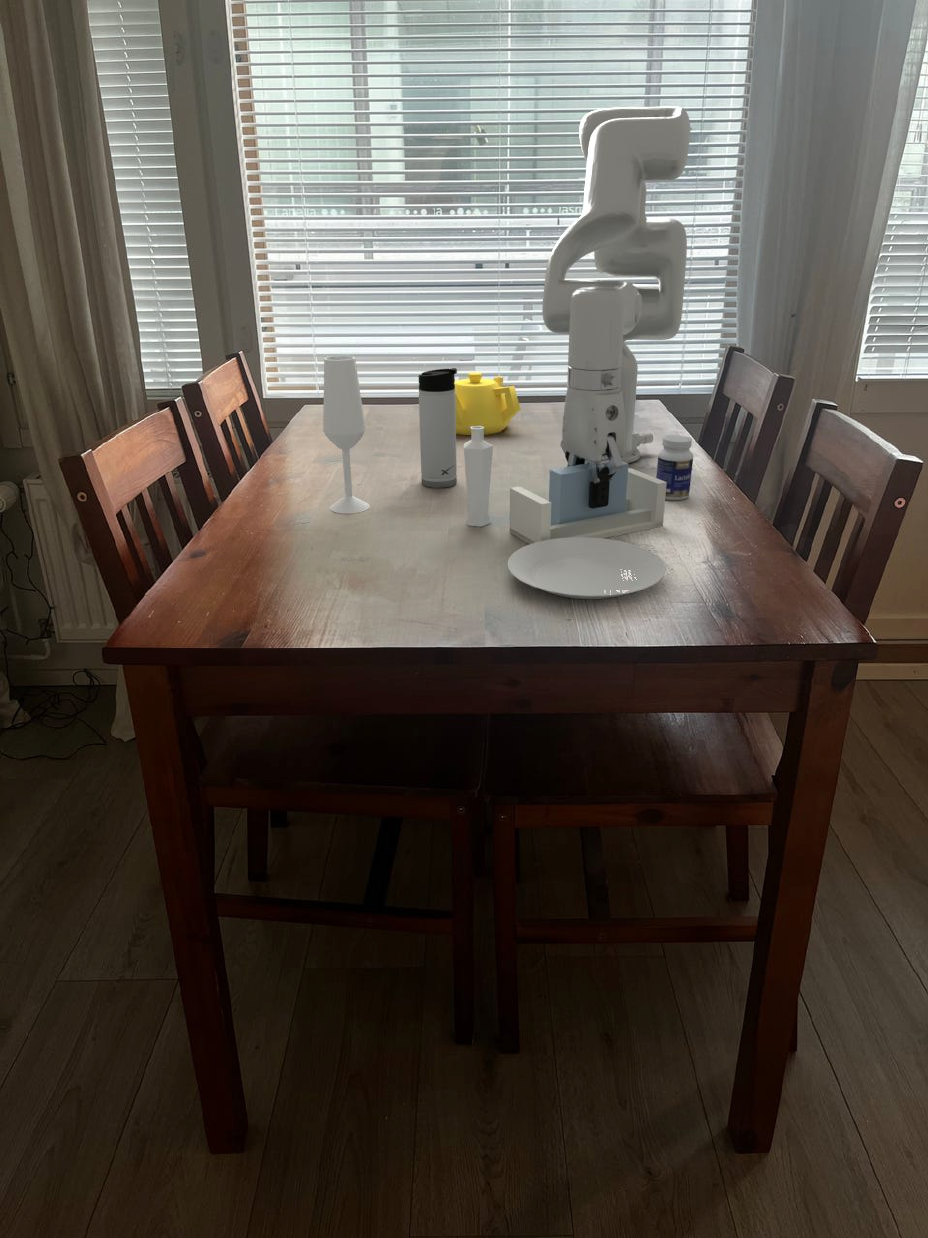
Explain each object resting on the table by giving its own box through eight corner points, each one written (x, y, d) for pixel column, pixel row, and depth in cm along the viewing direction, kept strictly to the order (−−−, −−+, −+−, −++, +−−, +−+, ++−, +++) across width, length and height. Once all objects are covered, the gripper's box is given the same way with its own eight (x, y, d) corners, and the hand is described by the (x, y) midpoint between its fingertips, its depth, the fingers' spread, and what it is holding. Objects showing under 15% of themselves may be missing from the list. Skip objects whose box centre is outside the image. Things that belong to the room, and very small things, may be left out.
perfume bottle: (496, 519, 144) (496, 424, 138) (487, 528, 140) (487, 431, 134) (468, 516, 145) (467, 422, 139) (459, 525, 142) (458, 429, 135)
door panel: (613, 515, 143) (616, 458, 139) (624, 520, 140) (628, 463, 136) (548, 527, 138) (549, 469, 134) (558, 533, 135) (560, 474, 132)
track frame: (627, 510, 147) (630, 467, 144) (662, 526, 140) (666, 482, 137) (509, 532, 138) (510, 487, 135) (540, 550, 131) (541, 504, 128)
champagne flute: (321, 510, 149) (309, 360, 139) (341, 499, 154) (331, 353, 144) (358, 515, 146) (348, 362, 136) (376, 503, 152) (369, 355, 142)
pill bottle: (677, 503, 150) (683, 444, 146) (648, 496, 154) (652, 438, 150) (695, 495, 154) (701, 437, 150) (666, 489, 158) (671, 432, 153)
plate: (554, 624, 110) (555, 607, 109) (482, 565, 127) (482, 550, 126) (697, 594, 117) (698, 578, 116) (610, 543, 134) (611, 528, 133)
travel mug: (454, 489, 159) (452, 372, 150) (417, 487, 160) (413, 371, 152) (461, 479, 164) (460, 365, 156) (426, 477, 166) (422, 364, 157)
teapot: (522, 435, 194) (523, 377, 189) (445, 440, 191) (444, 382, 186) (501, 418, 209) (502, 364, 204) (430, 422, 206) (428, 368, 201)
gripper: (652, 386, 124) (642, 513, 132) (582, 367, 138) (577, 484, 146) (606, 392, 121) (599, 522, 129) (540, 372, 135) (537, 491, 143)
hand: (588, 500), depth 137 cm, fingers open, 4 cm apart
